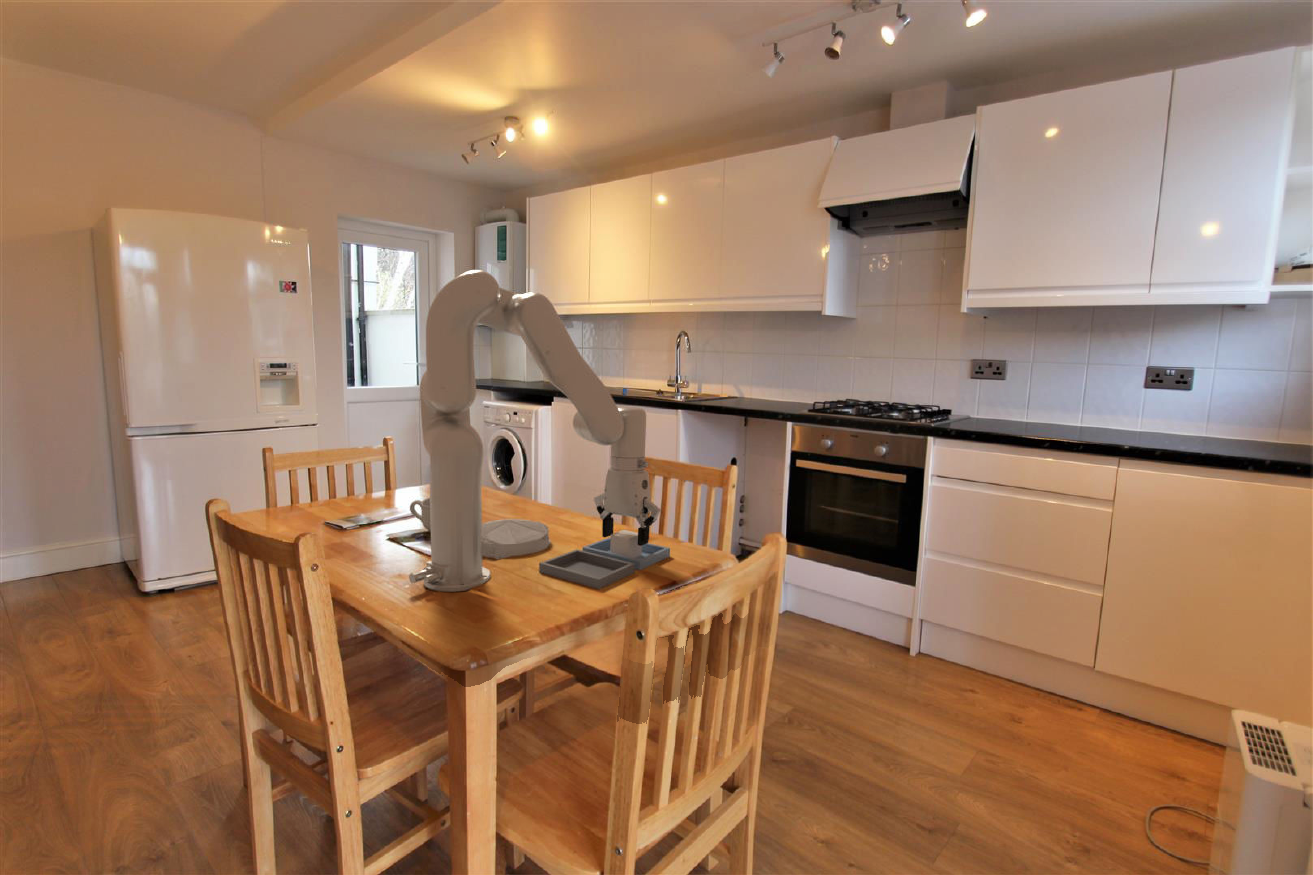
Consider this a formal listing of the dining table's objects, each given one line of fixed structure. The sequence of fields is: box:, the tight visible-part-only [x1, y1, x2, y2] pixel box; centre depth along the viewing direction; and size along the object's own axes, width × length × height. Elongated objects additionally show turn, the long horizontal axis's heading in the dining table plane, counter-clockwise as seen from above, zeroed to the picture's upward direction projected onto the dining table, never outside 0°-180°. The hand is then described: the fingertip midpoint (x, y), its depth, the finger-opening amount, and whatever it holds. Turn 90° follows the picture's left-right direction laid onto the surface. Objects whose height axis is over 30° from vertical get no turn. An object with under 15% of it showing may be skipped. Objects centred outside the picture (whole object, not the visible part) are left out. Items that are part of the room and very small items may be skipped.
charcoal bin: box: [538, 548, 636, 590], centre depth 129 cm, size 12×16×2 cm
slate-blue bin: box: [582, 536, 671, 571], centre depth 140 cm, size 12×16×2 cm
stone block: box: [610, 529, 642, 558], centre depth 140 cm, size 5×5×5 cm
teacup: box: [409, 497, 431, 533], centre depth 158 cm, size 14×11×8 cm
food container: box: [482, 518, 552, 560], centre depth 147 cm, size 20×20×7 cm
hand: (625, 540), depth 140 cm, fingers open, 9 cm apart
